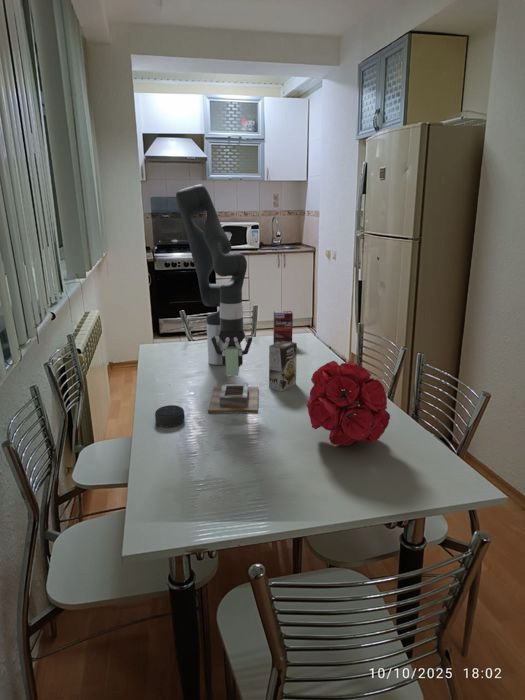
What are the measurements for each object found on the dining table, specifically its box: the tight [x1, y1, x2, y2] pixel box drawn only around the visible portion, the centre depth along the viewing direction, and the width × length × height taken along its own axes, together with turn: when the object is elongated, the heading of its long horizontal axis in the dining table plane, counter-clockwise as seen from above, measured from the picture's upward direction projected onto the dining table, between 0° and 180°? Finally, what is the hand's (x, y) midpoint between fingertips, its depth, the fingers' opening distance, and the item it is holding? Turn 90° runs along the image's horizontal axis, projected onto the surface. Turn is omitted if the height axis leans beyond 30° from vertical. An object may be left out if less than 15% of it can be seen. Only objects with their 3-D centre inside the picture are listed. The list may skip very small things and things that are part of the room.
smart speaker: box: [154, 404, 186, 428], centre depth 147 cm, size 9×9×4 cm
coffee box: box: [268, 341, 298, 392], centre depth 172 cm, size 9×6×16 cm
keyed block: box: [225, 346, 240, 377], centre depth 158 cm, size 4×7×9 cm, turn 179°
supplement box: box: [272, 310, 294, 344], centre depth 223 cm, size 9×5×16 cm, turn 95°
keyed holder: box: [207, 383, 259, 414], centre depth 162 cm, size 20×16×4 cm
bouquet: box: [306, 360, 391, 446], centre depth 134 cm, size 22×24×30 cm
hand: (232, 365), depth 158 cm, fingers closed on keyed block, 4 cm apart
